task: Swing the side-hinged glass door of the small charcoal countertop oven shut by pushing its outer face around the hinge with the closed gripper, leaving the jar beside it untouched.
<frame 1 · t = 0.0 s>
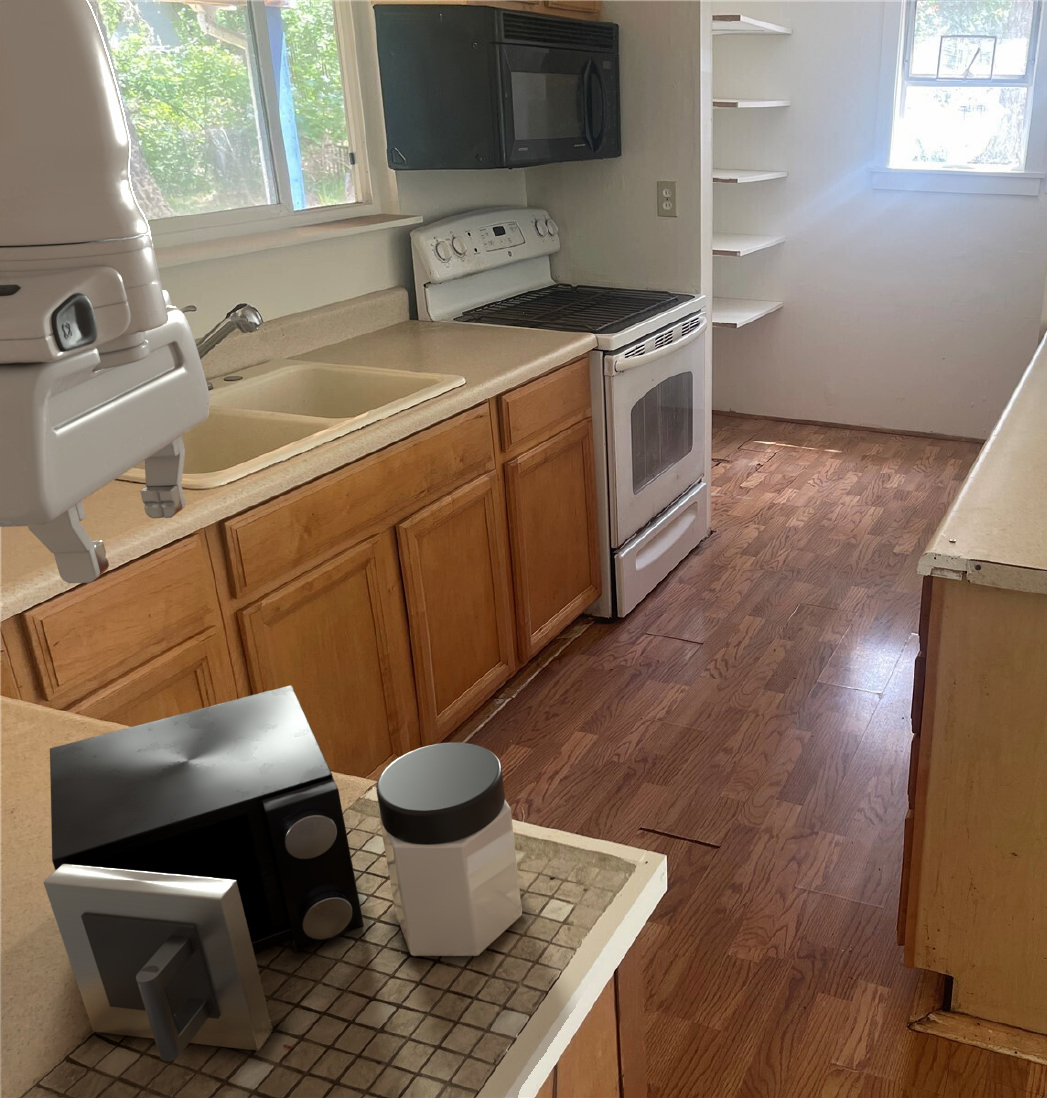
hand: (130, 543, 58), 30 cm above the countertop, tool pointing down, fingers open, 8 cm apart
oven door: (142, 981, 60), point 6 cm above the countertop, hinge at 40.0°
jar: (459, 918, 73), on the countertop
oven: (222, 899, 75), on the countertop
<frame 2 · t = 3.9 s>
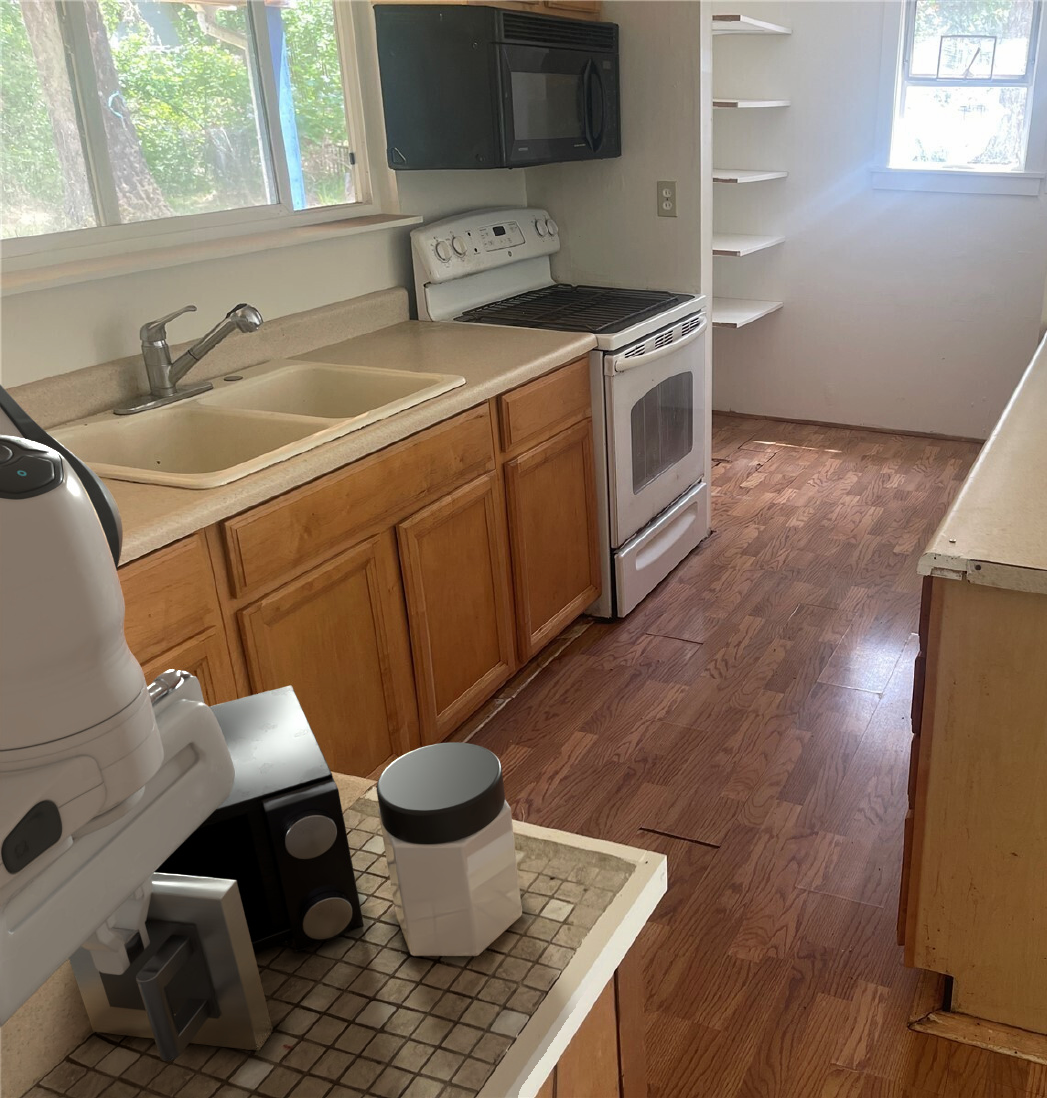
hand: (125, 959, 58), 9 cm above the countertop, tool pointing down, fingers closed
oven door: (142, 981, 60), point 6 cm above the countertop, hinge at 40.0°, touching gripper
everything else where it was.
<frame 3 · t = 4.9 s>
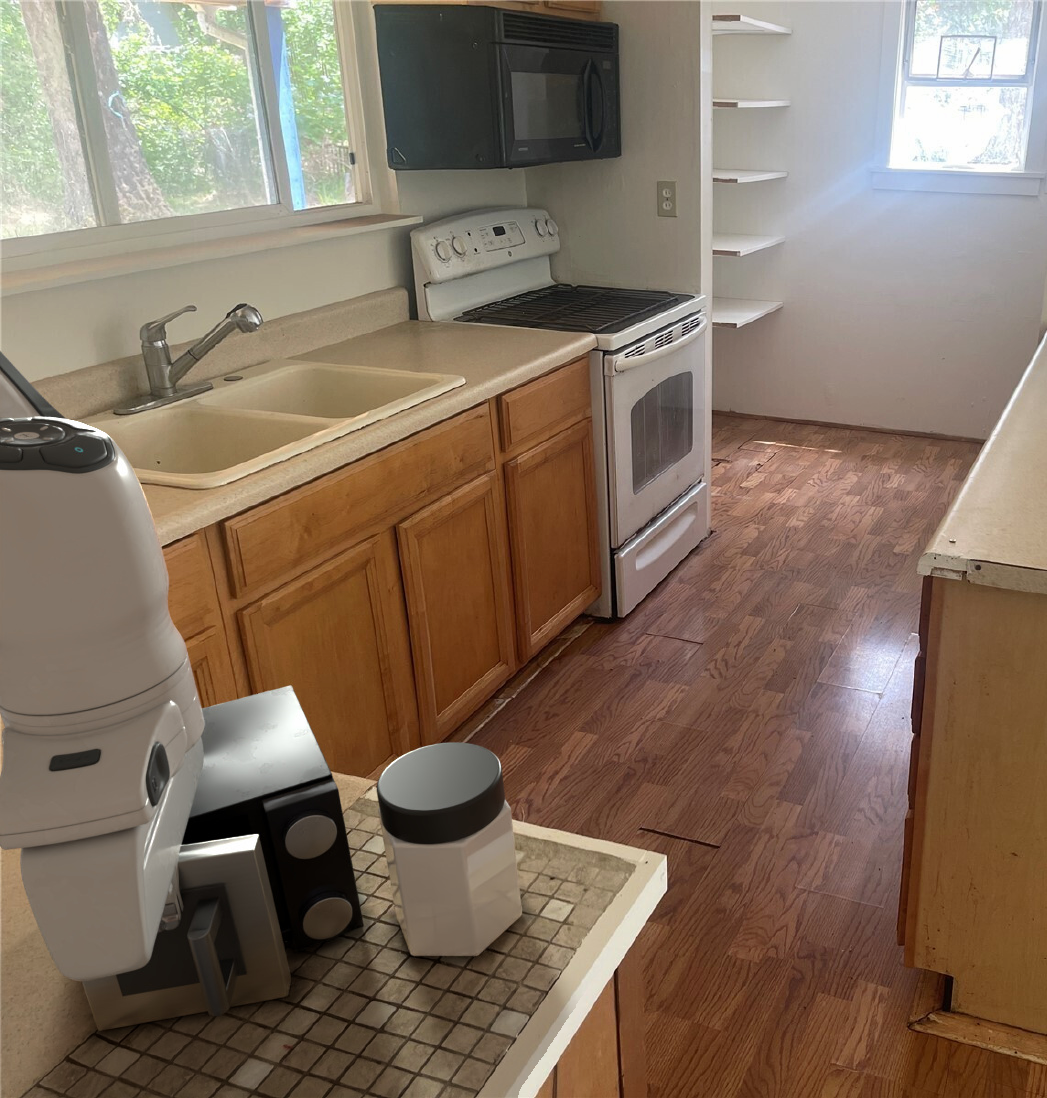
hand: (166, 921, 61), 9 cm above the countertop, tool pointing down, fingers closed
oven door: (170, 954, 62), point 6 cm above the countertop, hinge at 18.2°, touching gripper
everything else where it was.
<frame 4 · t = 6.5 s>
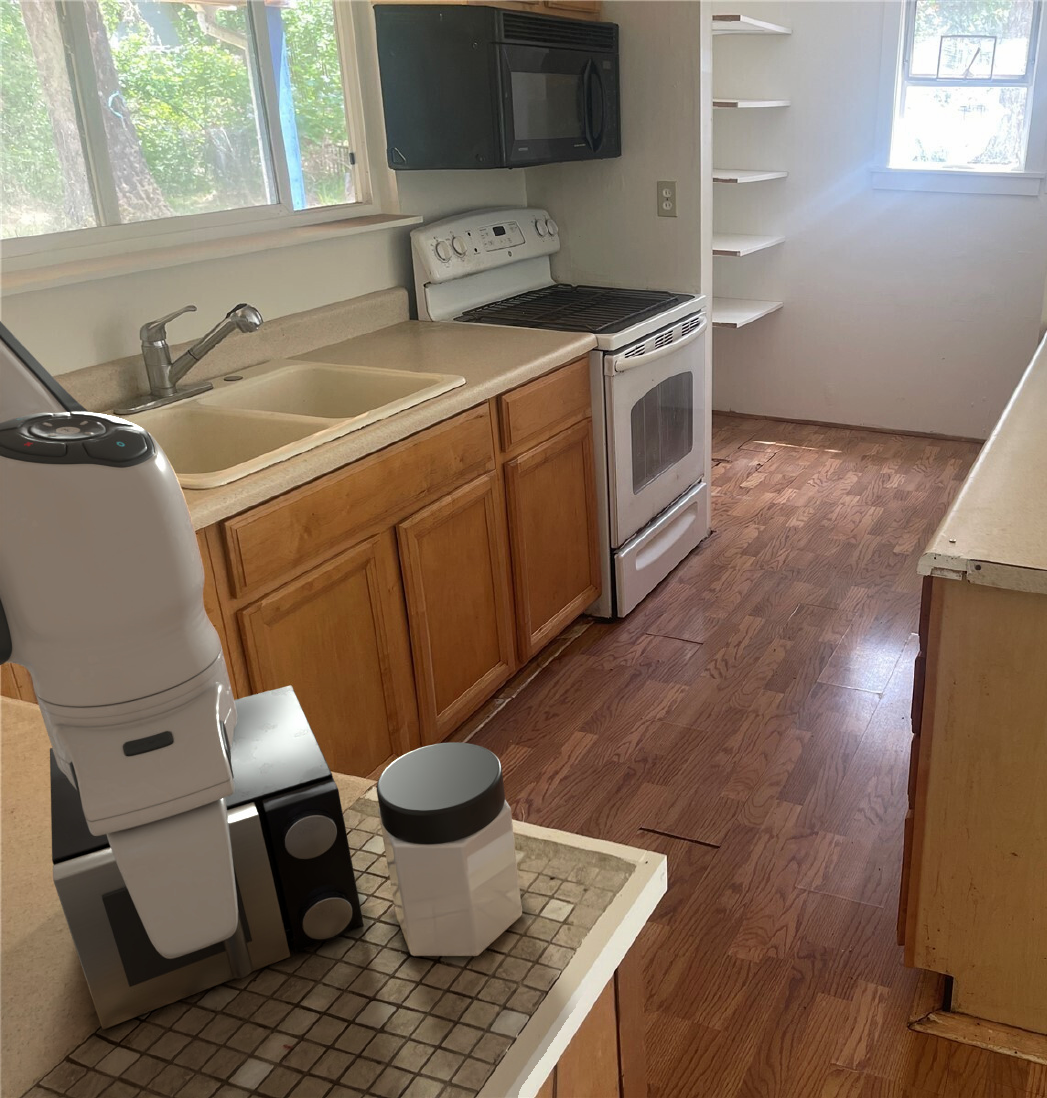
hand: (197, 911, 61), 9 cm above the countertop, tool pointing down, fingers closed
oven door: (183, 931, 64), point 6 cm above the countertop, hinge at -0.6°
everything else where it was.
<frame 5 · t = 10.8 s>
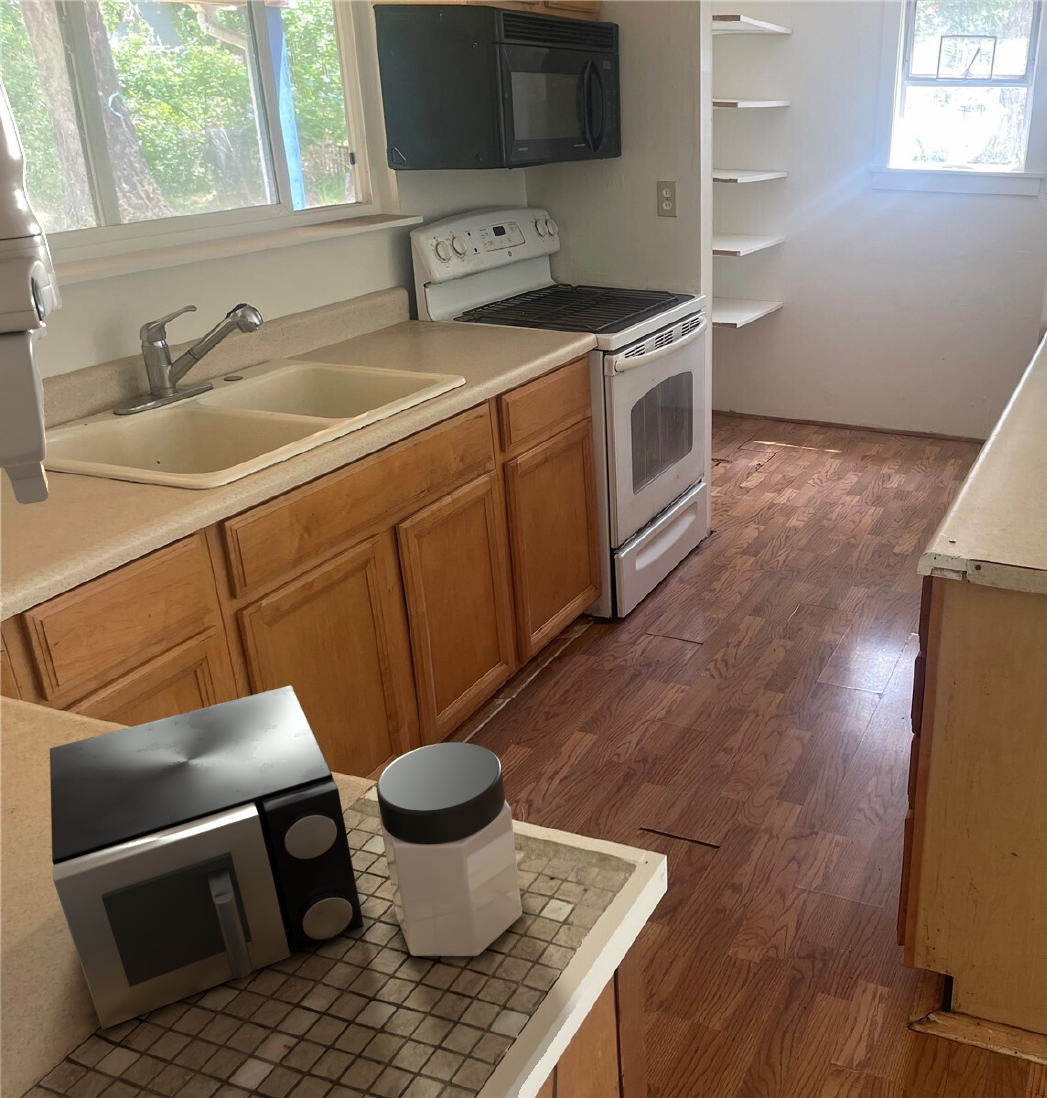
hand: (34, 497, 69), 29 cm above the countertop, tool pointing down, fingers closed
nothing on the countertop moved.
at the end: oven door at -1° (first picture: +40°); jar moved 0.2 cm from its start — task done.
